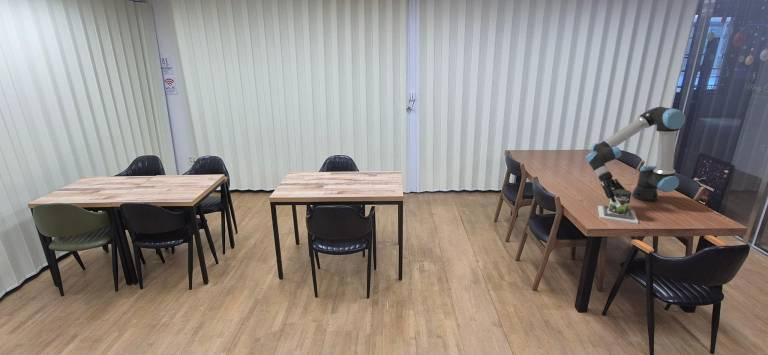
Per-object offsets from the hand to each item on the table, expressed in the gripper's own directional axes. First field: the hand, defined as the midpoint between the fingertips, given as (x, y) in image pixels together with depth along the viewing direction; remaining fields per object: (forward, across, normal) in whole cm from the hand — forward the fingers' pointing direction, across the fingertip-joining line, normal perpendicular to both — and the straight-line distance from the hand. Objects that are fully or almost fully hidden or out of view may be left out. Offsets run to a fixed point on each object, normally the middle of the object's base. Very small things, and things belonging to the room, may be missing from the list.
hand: (624, 204), depth 223 cm
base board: (+4, 0, -8) cm, 8 cm away
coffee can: (+2, 0, -6) cm, 7 cm away
